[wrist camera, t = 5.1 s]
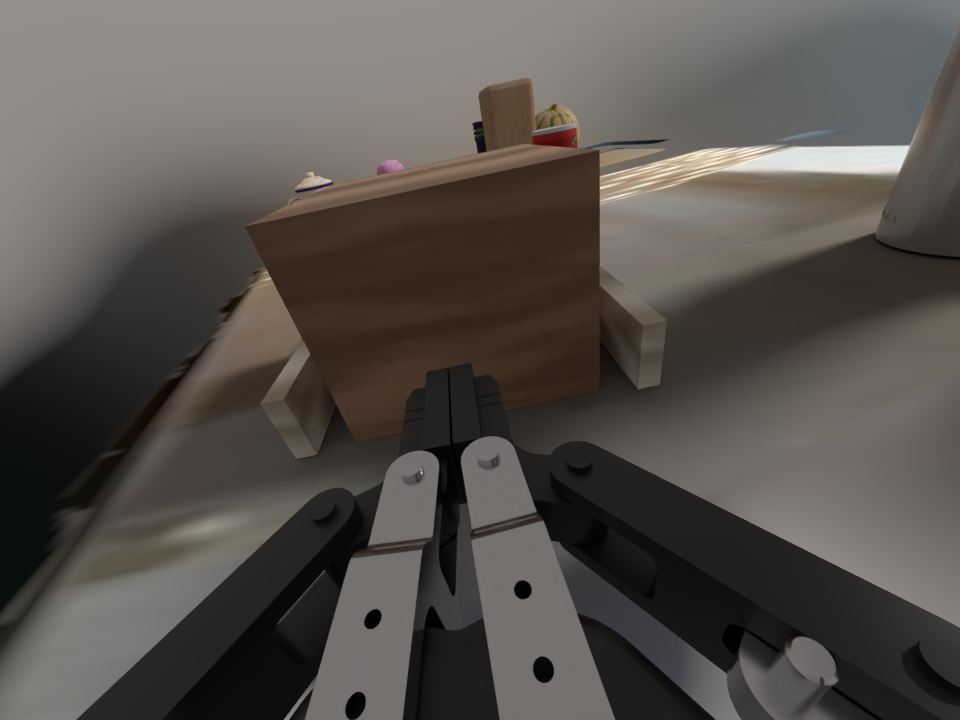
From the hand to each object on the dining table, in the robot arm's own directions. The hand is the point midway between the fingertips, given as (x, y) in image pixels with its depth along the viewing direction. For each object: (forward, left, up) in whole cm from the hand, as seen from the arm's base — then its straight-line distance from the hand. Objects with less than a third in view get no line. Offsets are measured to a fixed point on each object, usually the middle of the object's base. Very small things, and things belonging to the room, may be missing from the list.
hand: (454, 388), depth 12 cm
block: (+48, -72, -6) cm, 87 cm away
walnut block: (+9, -9, -6) cm, 14 cm away
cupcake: (+98, -75, -6) cm, 124 cm away
